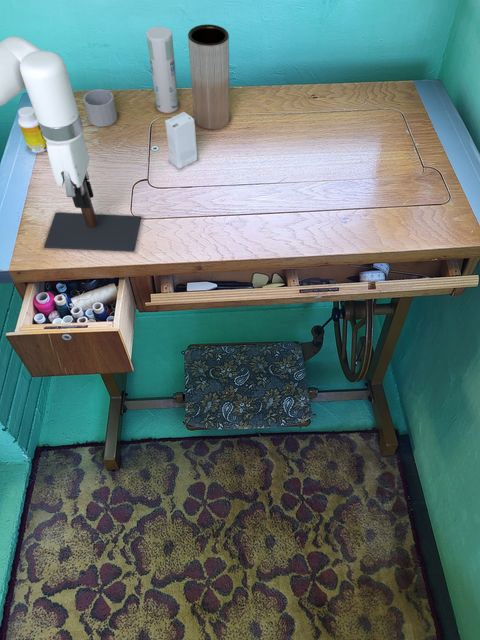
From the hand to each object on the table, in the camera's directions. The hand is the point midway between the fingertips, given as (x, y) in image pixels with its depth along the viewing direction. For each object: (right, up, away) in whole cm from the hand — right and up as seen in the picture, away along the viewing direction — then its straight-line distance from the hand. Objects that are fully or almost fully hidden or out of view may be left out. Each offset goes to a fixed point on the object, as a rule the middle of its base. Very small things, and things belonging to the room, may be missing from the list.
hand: (84, 201), depth 113 cm
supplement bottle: (-20, +21, +24) cm, 37 cm away
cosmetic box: (+18, +17, +23) cm, 34 cm away
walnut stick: (0, -4, +6) cm, 7 cm away
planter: (+24, +32, +34) cm, 53 cm away
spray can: (+11, +37, +36) cm, 53 cm away
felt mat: (0, -5, +8) cm, 9 cm away
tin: (-6, +32, +32) cm, 45 cm away
